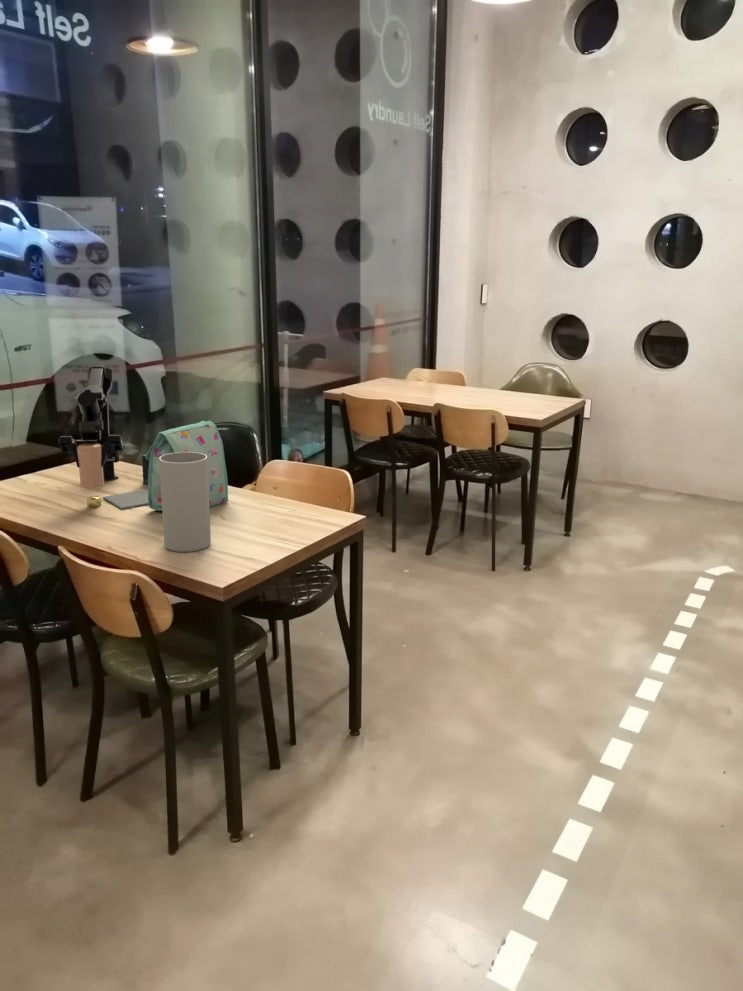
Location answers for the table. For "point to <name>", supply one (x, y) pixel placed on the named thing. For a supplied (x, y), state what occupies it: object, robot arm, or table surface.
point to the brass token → (93, 501)
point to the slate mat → (129, 499)
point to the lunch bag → (189, 440)
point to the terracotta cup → (90, 465)
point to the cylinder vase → (185, 501)
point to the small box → (145, 469)
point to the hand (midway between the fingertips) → (90, 466)
